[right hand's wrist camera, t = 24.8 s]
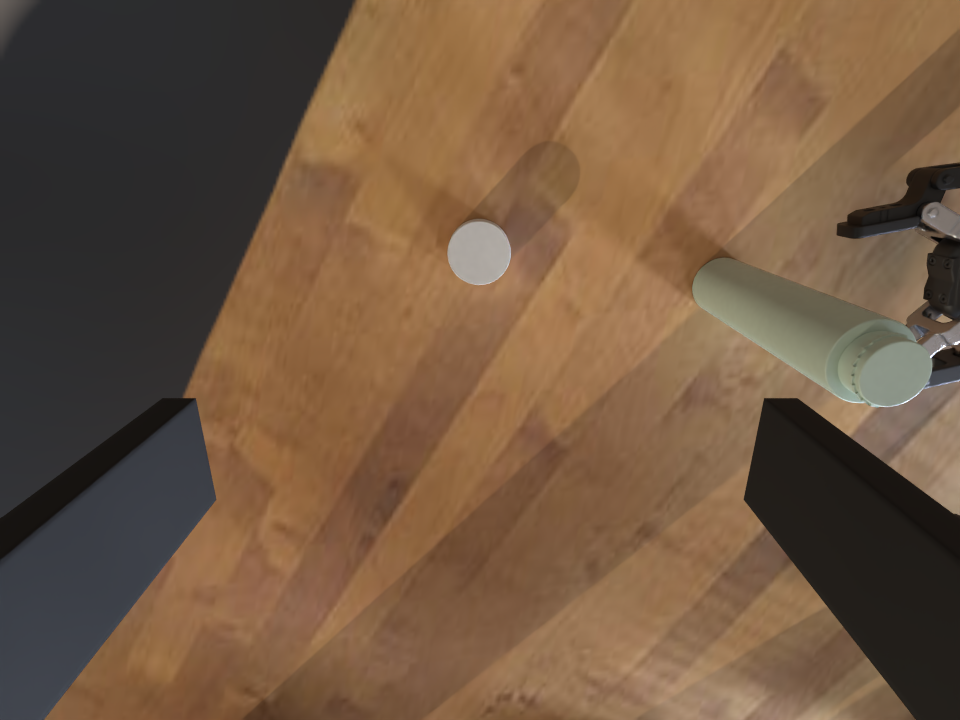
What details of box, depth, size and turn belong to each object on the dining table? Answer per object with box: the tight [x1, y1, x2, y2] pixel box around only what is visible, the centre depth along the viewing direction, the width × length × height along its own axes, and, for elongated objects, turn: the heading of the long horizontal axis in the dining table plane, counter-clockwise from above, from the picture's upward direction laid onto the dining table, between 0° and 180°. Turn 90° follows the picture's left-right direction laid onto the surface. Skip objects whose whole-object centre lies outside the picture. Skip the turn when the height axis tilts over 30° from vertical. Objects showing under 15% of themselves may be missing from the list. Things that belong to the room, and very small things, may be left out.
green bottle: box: [692, 258, 932, 408], centre depth 32 cm, size 4×4×18 cm
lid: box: [448, 219, 511, 285], centre depth 39 cm, size 5×5×2 cm
